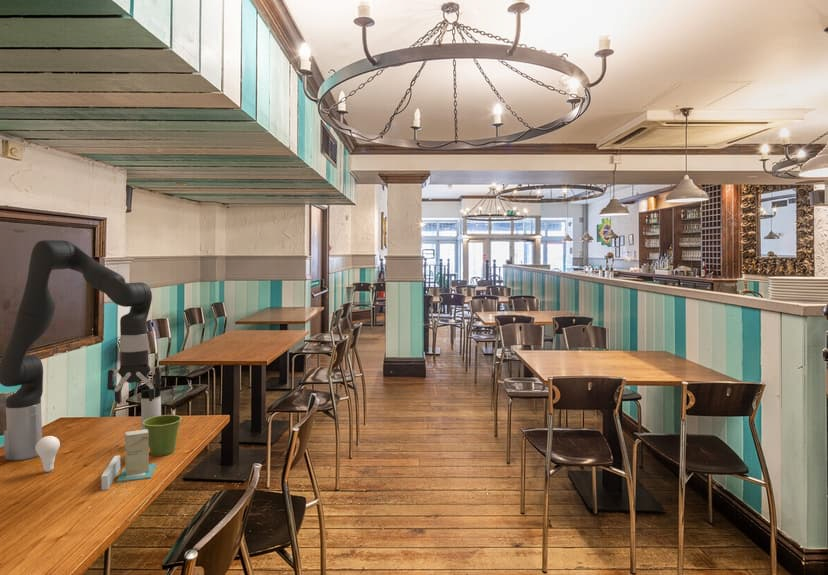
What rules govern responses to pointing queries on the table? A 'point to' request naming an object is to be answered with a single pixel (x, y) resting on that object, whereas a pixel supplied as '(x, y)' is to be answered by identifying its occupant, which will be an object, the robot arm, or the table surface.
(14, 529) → the table surface
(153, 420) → the plant pot
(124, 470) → the resting pad
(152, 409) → the travel mug
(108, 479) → the divider wall
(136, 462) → the skincare box
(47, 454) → the lightbulb
